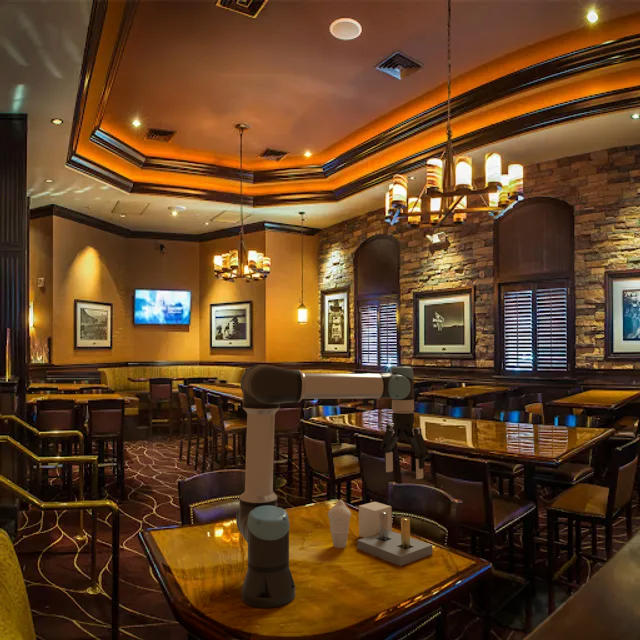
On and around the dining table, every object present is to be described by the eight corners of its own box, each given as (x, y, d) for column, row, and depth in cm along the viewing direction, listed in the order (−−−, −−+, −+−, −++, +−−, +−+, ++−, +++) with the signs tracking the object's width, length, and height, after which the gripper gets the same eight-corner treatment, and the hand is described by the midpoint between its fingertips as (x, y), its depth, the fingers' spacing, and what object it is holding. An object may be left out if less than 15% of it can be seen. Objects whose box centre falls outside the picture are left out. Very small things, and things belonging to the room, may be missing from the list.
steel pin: (384, 549, 186) (383, 514, 187) (377, 547, 188) (377, 512, 189) (390, 547, 188) (389, 512, 189) (383, 545, 190) (383, 510, 191)
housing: (375, 541, 193) (375, 510, 194) (359, 535, 200) (358, 505, 201) (392, 536, 199) (391, 506, 200) (375, 530, 206) (375, 501, 206)
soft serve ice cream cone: (342, 552, 184) (342, 504, 185) (323, 547, 189) (322, 500, 190) (356, 545, 190) (355, 499, 191) (336, 540, 195) (336, 495, 196)
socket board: (400, 566, 171) (400, 556, 172) (357, 548, 187) (357, 540, 187) (432, 553, 182) (432, 544, 182) (389, 538, 197) (389, 530, 197)
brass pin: (406, 557, 178) (405, 521, 179) (399, 555, 181) (399, 518, 181) (412, 555, 180) (411, 519, 181) (405, 553, 183) (404, 517, 183)
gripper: (439, 414, 176) (440, 479, 175) (384, 408, 195) (385, 467, 194) (424, 415, 171) (425, 483, 170) (369, 409, 190) (370, 470, 189)
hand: (404, 475), depth 182 cm, fingers open, 13 cm apart
